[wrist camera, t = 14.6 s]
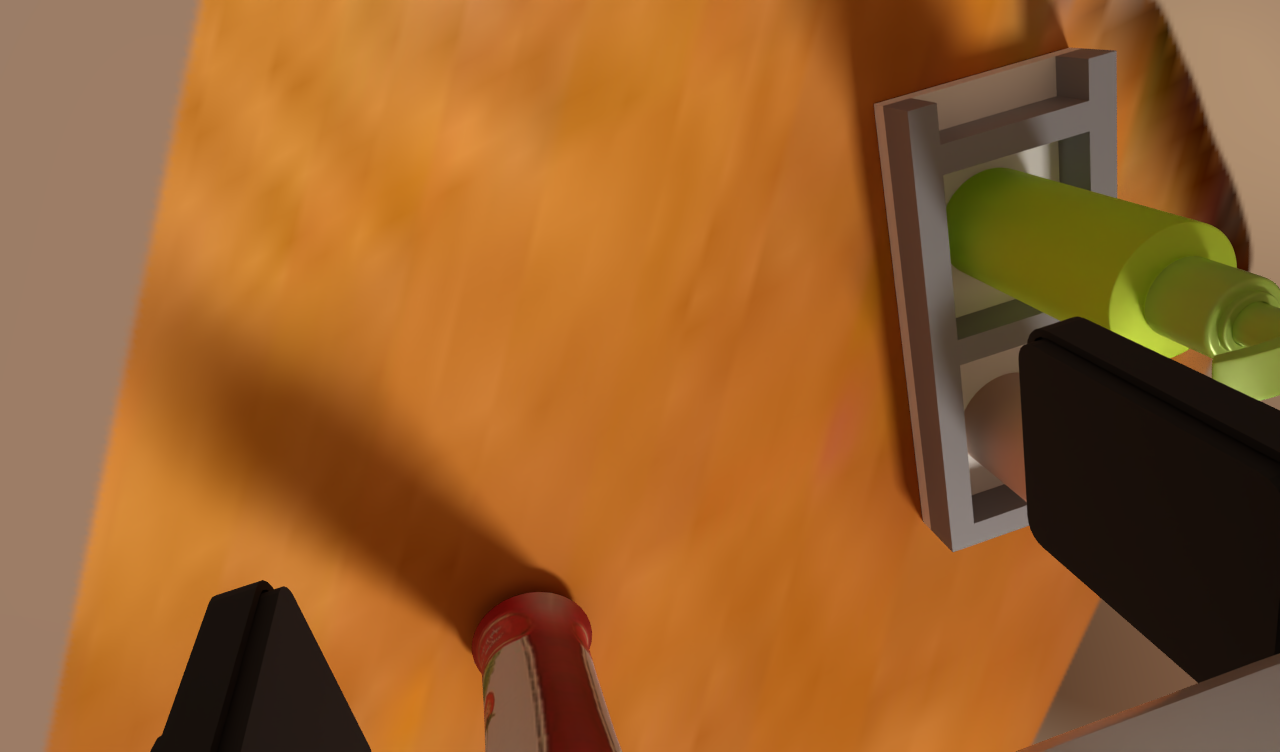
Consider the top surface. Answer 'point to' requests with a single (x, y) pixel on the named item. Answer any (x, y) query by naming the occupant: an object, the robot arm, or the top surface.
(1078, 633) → the top surface
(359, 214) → the top surface
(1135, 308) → the soap dispenser
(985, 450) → the rail
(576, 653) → the liquor
